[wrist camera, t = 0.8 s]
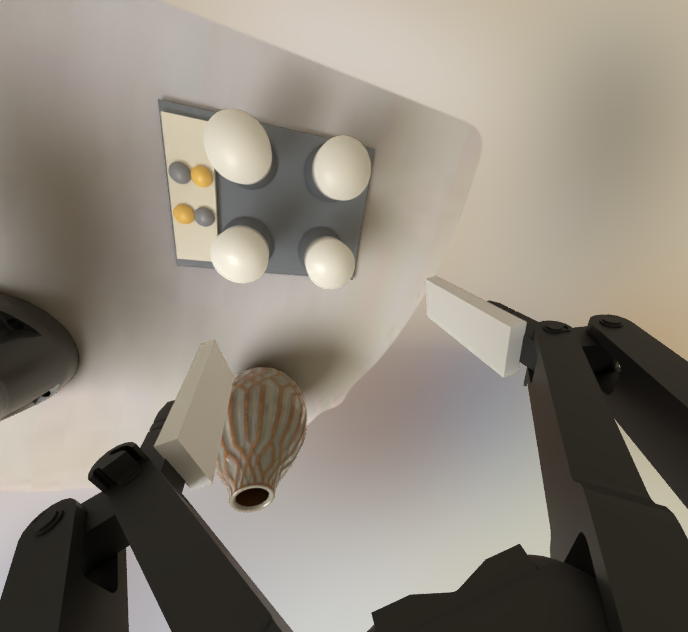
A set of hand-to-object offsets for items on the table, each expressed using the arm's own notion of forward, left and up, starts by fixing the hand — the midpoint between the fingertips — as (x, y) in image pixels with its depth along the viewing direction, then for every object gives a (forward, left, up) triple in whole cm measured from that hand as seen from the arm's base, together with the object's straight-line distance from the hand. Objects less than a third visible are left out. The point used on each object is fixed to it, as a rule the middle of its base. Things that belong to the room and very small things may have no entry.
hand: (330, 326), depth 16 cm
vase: (-5, -22, -21) cm, 31 cm away
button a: (-7, +1, -18) cm, 19 cm away
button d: (+2, +10, -18) cm, 20 cm away
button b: (-7, +10, -18) cm, 21 cm away
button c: (+2, +1, -18) cm, 18 cm away
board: (-4, +5, -21) cm, 22 cm away
